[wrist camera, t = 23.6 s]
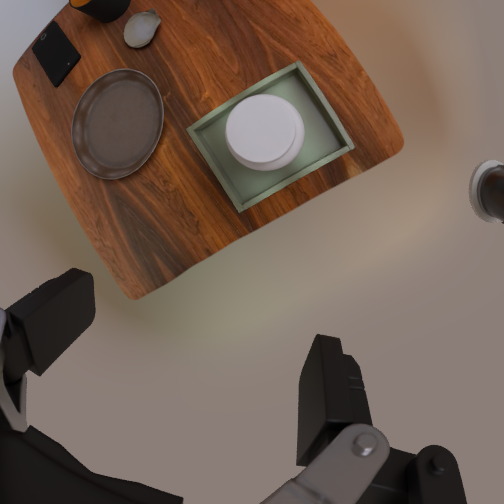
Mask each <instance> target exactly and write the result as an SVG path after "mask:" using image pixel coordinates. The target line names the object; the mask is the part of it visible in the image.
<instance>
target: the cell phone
mask: <svg viewBox="0 0 504 504" xmlns="http://www.w3.org/2000/svg"><path fill="white" fill-rule="evenodd" d="M32 50H33V52H34V54H35V55H36V57H37V59H38V60H39V62H40V64H41V66H42V67H43V69H44V71H45V72H46V74H47V76H48V77H49V79H50V80H51V82H52V84H53V85H54V86H55V87H58V86H59V85H60V83H61V82H62V81H63V79H64V78H65V77H66V75H67V74H68V73H69V72H70V70H71V69H72V68H73V67H74V65H75V64H76V63H77V62H78V61H79V59H80V58H81V55H80V54H79V53H78V52H77V50H76V49H75V48H74V46H73V45H72V43H71V42H70V41H69V39H68V38H67V37H66V35H65V34H64V33H63V31H62V30H61V29H60V27H59V26H58V24H57V23H56V22H55V21H52V22H51V23H50V25H49V26H48V27H47V28H46V30H45V31H44V32H43V34H42V35H41V36H40V37H39V39H38V40H37V41H36V43H35V44H34V46H33V47H32Z"/></svg>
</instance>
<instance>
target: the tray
mask: <svg viewBox="0 0 504 504" xmlns="http://www.w3.org/2000/svg"><path fill="white" fill-rule="evenodd" d="M260 94H268V95H275V96H278V97H280V98H283V99H285V100H286V101H288V102H289V103H291V104H292V105H293V106H294V107H295V108H296V110H297V111H298V112H299V114H300V116H301V118H302V120H303V124H304V130H305V136H304V142H303V146H302V148H301V150H300V152H299V154H298V155H297V156H296V158H295V159H294V160H293V161H292V162H290V163H289V164H287V165H286V166H284V167H282V168H279V169H276V170H271V171H259V170H254V169H251V168H248V167H246V166H244V165H243V164H241V163H240V162H239V161H238V160H236V158H235V157H234V156H233V155H232V153H231V152H230V150H229V148H228V146H227V143H226V138H225V128H226V123H227V119H228V117H229V115H230V113H231V111H232V110H233V109H234V107H235V106H237V105H238V104H239V103H240V102H241V101H243V100H244V99H246V98H248V97H251V96H254V95H260ZM186 130H187V132H188V133H189V135H190V136H191V138H192V139H193V141H194V143H195V144H196V146H197V147H198V149H199V150H200V152H201V154H202V155H203V157H204V158H205V160H206V161H207V163H208V165H209V166H210V168H211V169H212V171H213V172H214V174H215V176H216V177H217V179H218V180H219V182H220V183H221V185H222V187H223V188H224V190H225V191H226V193H227V195H228V196H229V198H230V199H231V201H232V202H233V204H234V206H235V207H236V209H237V210H238V212H239V213H241V212H243V211H244V210H246V209H248V208H249V207H251V206H253V205H255V204H256V203H258V202H260V201H261V200H263V199H265V198H266V197H268V196H270V195H272V194H273V193H275V192H277V191H279V190H280V189H282V188H284V187H286V186H287V185H289V184H291V183H293V182H294V181H296V180H298V179H300V178H301V177H303V176H305V175H307V174H309V173H310V172H312V171H314V170H316V169H317V168H319V167H321V166H323V165H325V164H327V163H328V162H330V161H332V160H334V159H336V158H337V157H339V156H341V155H343V154H345V153H347V152H349V151H350V150H352V149H354V148H355V146H354V144H353V142H352V141H351V139H350V137H349V135H348V134H347V132H346V130H345V129H344V127H343V125H342V124H341V122H340V120H339V119H338V117H337V115H336V114H335V112H334V111H333V109H332V107H331V106H330V104H329V103H328V101H327V99H326V98H325V96H324V95H323V93H322V92H321V90H320V89H319V87H318V86H317V84H316V83H315V81H314V80H313V79H312V77H311V76H310V74H309V73H308V71H307V70H306V69H305V67H304V66H303V64H302V63H301V62H300V60H299V61H297V62H295V63H293V64H291V65H289V66H287V67H285V68H283V69H281V70H279V71H278V72H276V73H274V74H272V75H270V76H269V77H267V78H265V79H263V80H262V81H260V82H258V83H256V84H255V85H253V86H251V87H250V88H248V89H246V90H245V91H243V92H241V93H240V94H238V95H236V96H235V97H233V98H232V99H230V100H228V101H227V102H225V103H224V104H222V105H221V106H219V107H218V108H216V109H215V110H213V111H212V112H210V113H209V114H207V115H206V116H204V117H203V118H201V119H200V120H198V121H197V122H195V123H194V124H193V125H191V126H190V127H188V128H187V129H186Z"/></svg>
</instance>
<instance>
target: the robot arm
mask: <svg viewBox="0 0 504 504" xmlns="http://www.w3.org/2000/svg"><path fill="white" fill-rule="evenodd" d="M477 198H478V202H479V205H480V207H481V209H482V210H483V212H484V213H485V214H487V215H489V216H491V217H495V218H497V219H499V220H501V221H503V222H502V223H503V224H504V165H499V164H498V165H497V167H490V168H488V169H486V170H485V171H484V172H483V173H482V175H481V177H480V179H479V182H478V186H477ZM94 317H95V297H94V281H93V276H92V275H91V273H88V272H85V271H82V270H79V269H77V268H72V269H70V270H68V271H67V272H65V273H64V274H62V275H61V276H59V277H57V278H54V279H51V280H48V281H47V282H45V283H43V284H42V285H40V286H39V288H36V289H34V290H33V291H32V292H31V293H28V294H27V295H26V296H24V297H23V298H21V299H20V300H18V301H17V302H15V303H14V304H13V305H11V306H10V307H8V308H7V309H6V310H3V309H2V308H0V504H183V497H179V496H176V495H173V494H170V493H167V492H164V491H160V490H158V489H155V488H152V487H149V486H146V485H144V484H141V483H138V482H133V481H127V480H122V479H117V478H112V477H108V476H104V475H100V474H96V473H93V472H91V471H90V470H88V469H87V468H86V467H85V466H83V464H81V463H80V462H79V461H78V460H77V459H76V458H74V457H73V456H72V455H71V454H70V453H69V452H68V451H67V450H66V449H65V448H64V447H63V446H62V445H61V444H59V443H58V442H56V441H54V440H53V439H51V438H50V437H48V436H46V435H45V434H43V433H42V432H40V431H38V430H37V429H36V428H34V427H33V426H31V425H30V426H29V427H27V422H26V389H27V377H26V374H25V372H27V371H28V370H30V371H32V372H33V373H35V374H37V375H38V376H41V375H42V374H43V373H44V372H45V371H46V369H48V368H49V366H50V365H51V364H52V363H53V362H54V361H55V360H56V359H57V358H58V357H59V356H60V355H61V354H62V353H63V352H64V351H65V350H66V349H67V348H68V347H69V346H70V345H71V344H72V343H73V342H74V341H75V340H76V339H77V338H78V337H79V336H80V335H81V333H83V332H84V331H85V330H86V329H87V328H88V327H89V326H90V325H91V324H92V322H93V320H94ZM364 388H365V387H364V383H363V381H362V375H361V370H360V367H359V365H358V364H357V362H356V361H355V360H354V358H353V357H352V356H351V355H346V354H343V351H342V346H341V341H340V339H339V338H336V337H331V336H326V335H320V334H317V335H316V337H315V338H314V341H313V343H312V346H311V349H310V351H309V354H308V356H307V359H306V361H305V364H304V366H303V369H302V372H301V376H300V381H299V403H298V405H299V406H298V438H297V460H296V465H297V466H306V468H305V469H304V470H303V471H302V472H301V473H300V474H298V476H296V477H295V478H293V479H292V478H291V479H290V480H288V481H287V482H286V483H284V484H283V485H282V486H281V487H280V488H278V489H277V490H276V491H275V492H274V493H272V494H271V495H270V496H269V497H268V498H266V499H265V500H264V501H262V502H261V503H260V504H467V502H466V497H465V492H464V488H463V484H462V479H461V476H460V472H459V468H458V464H457V461H456V459H455V457H454V456H453V454H452V453H451V452H450V451H448V450H447V449H446V448H444V447H442V446H438V445H430V446H427V447H425V448H423V449H422V450H421V451H420V452H419V453H418V454H417V455H416V454H412V453H408V452H404V451H401V450H397V449H394V448H392V447H390V446H389V442H388V440H387V438H386V437H385V435H384V434H383V433H382V432H381V431H379V430H378V429H377V428H375V427H373V425H372V420H371V415H370V410H369V406H368V401H367V397H366V392H365V390H364Z"/></svg>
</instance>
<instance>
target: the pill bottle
mask: <svg viewBox="0 0 504 504" xmlns="http://www.w3.org/2000/svg"><path fill="white" fill-rule="evenodd" d="M304 136H305V130H304V124H303V120H302V118H301V116H300V114H299V112H298V111H297V110H296V108H295V107H294V106H293V105H292V104H291V103H289V102H288V101H286V100H285V99H283V98H280V97H278V96H275V95H268V94H260V95H254V96H251V97H248V98H246V99H244V100H243V101H241V102H240V103H239V104H238V105H237V106H235V107H234V109H233V110H232V111H231V113H230V115H229V117H228V119H227V123H226V128H225V138H226V143H227V146H228V148H229V150H230V152H231V153H232V155H233V156H234V157H235V158H236V160H238V161H239V162H240V163H241V164H243V165H244V166H246V167H248V168H251V169H254V170H259V171H271V170H276V169H279V168H282V167H284V166H286V165H287V164H289V163H290V162H292V161H293V160H294V159H295V158H296V156H297V155H298V154H299V152H300V150H301V148H302V146H303V142H304Z"/></svg>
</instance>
